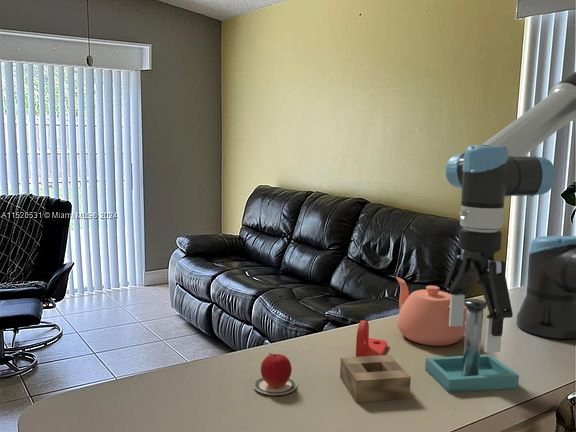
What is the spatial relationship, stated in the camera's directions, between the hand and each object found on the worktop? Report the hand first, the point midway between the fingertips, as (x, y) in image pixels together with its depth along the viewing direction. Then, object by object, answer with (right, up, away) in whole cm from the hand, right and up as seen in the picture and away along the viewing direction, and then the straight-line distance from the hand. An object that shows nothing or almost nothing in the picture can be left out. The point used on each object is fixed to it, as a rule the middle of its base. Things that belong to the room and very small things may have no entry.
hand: (472, 338), depth 103 cm
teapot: (-3, -5, +24) cm, 24 cm away
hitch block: (-20, -8, -3) cm, 22 cm away
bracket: (-17, -7, +13) cm, 22 cm away
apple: (-38, -8, -4) cm, 39 cm away
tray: (0, -8, +1) cm, 8 cm away
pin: (0, -8, +1) cm, 8 cm away
